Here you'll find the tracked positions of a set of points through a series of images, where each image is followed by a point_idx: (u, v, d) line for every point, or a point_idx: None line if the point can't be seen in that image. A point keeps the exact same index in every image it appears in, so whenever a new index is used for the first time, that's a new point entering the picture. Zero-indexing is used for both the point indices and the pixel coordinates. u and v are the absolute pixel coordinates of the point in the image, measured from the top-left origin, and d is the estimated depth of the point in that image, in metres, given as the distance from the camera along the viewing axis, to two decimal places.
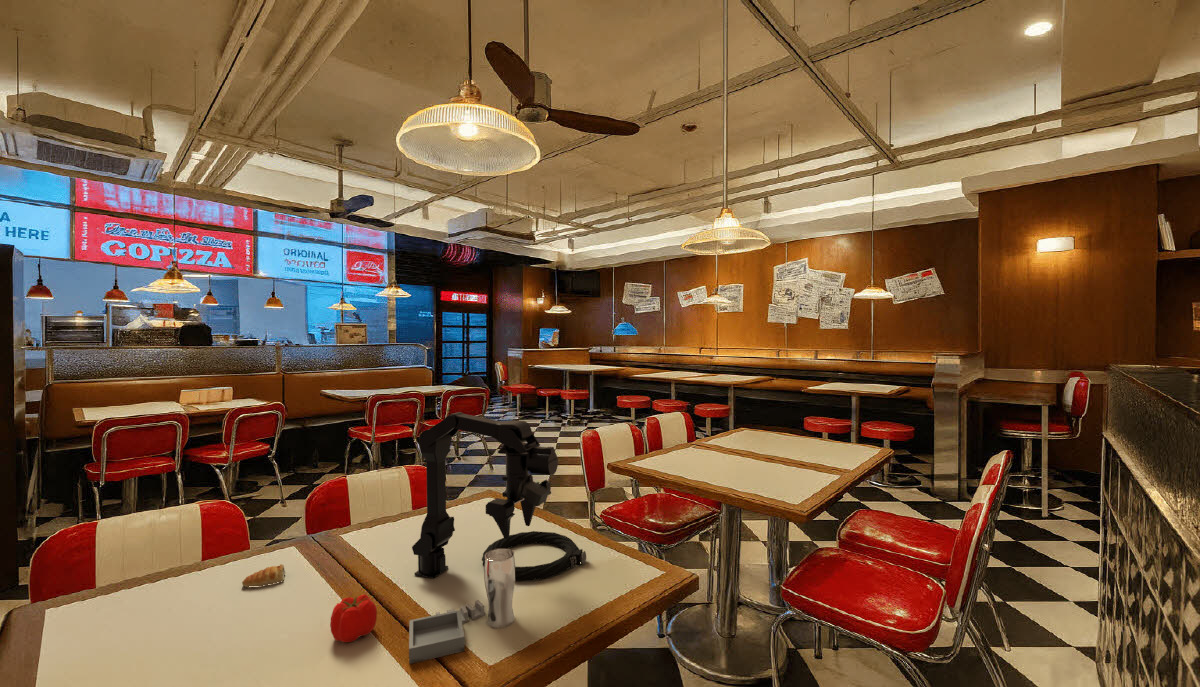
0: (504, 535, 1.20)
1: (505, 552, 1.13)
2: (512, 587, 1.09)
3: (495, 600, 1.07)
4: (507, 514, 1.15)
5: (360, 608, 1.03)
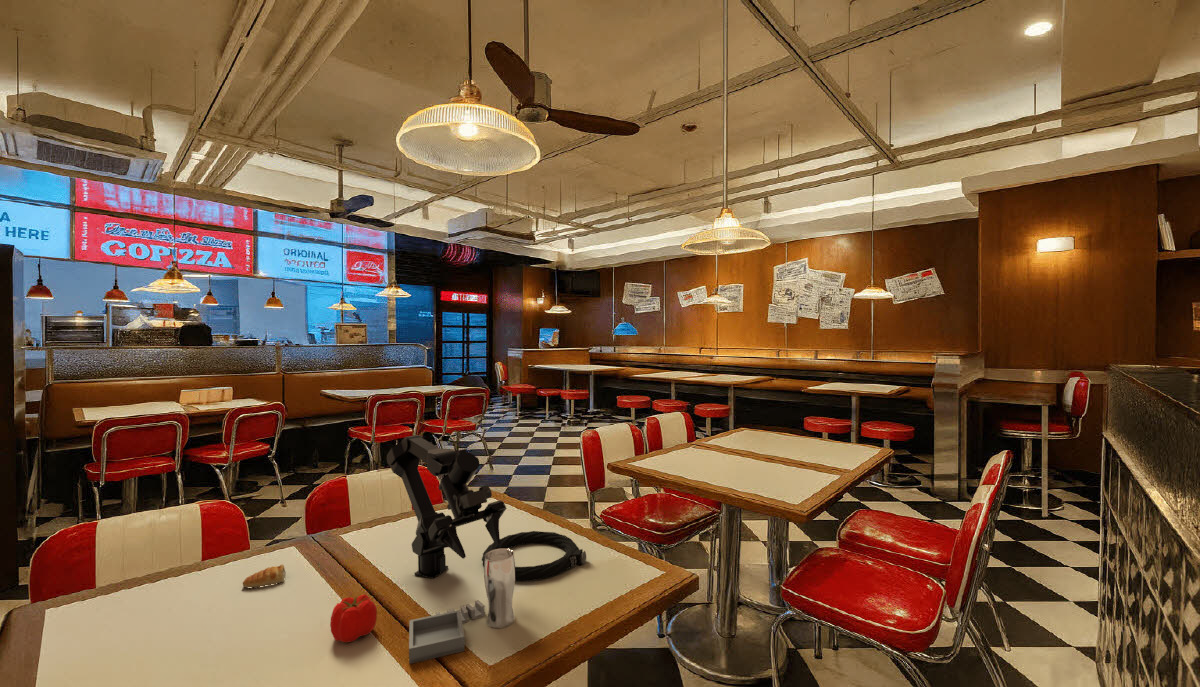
0: (460, 555, 1.12)
1: (505, 552, 1.13)
2: (512, 587, 1.09)
3: (495, 600, 1.07)
4: (441, 525, 1.11)
5: (360, 608, 1.03)
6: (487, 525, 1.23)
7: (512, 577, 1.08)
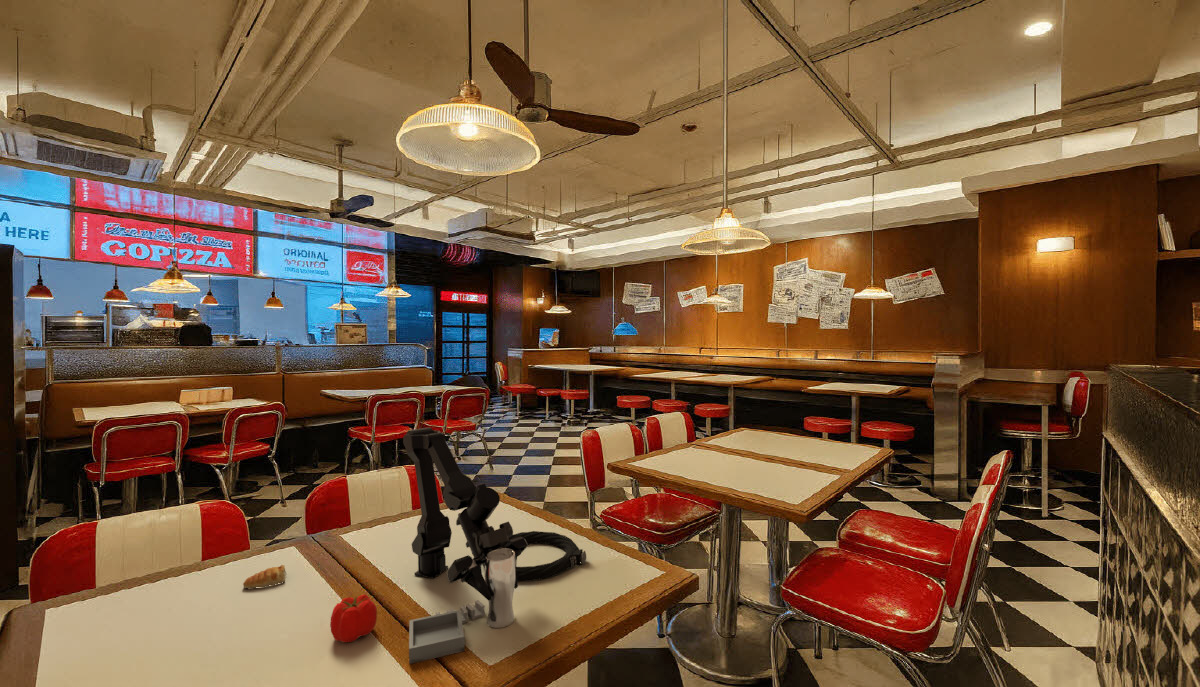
0: (486, 596, 1.07)
1: (506, 552, 1.13)
2: (512, 587, 1.09)
3: (495, 600, 1.07)
4: (461, 567, 1.05)
5: (360, 608, 1.03)
6: None
7: (512, 577, 1.08)
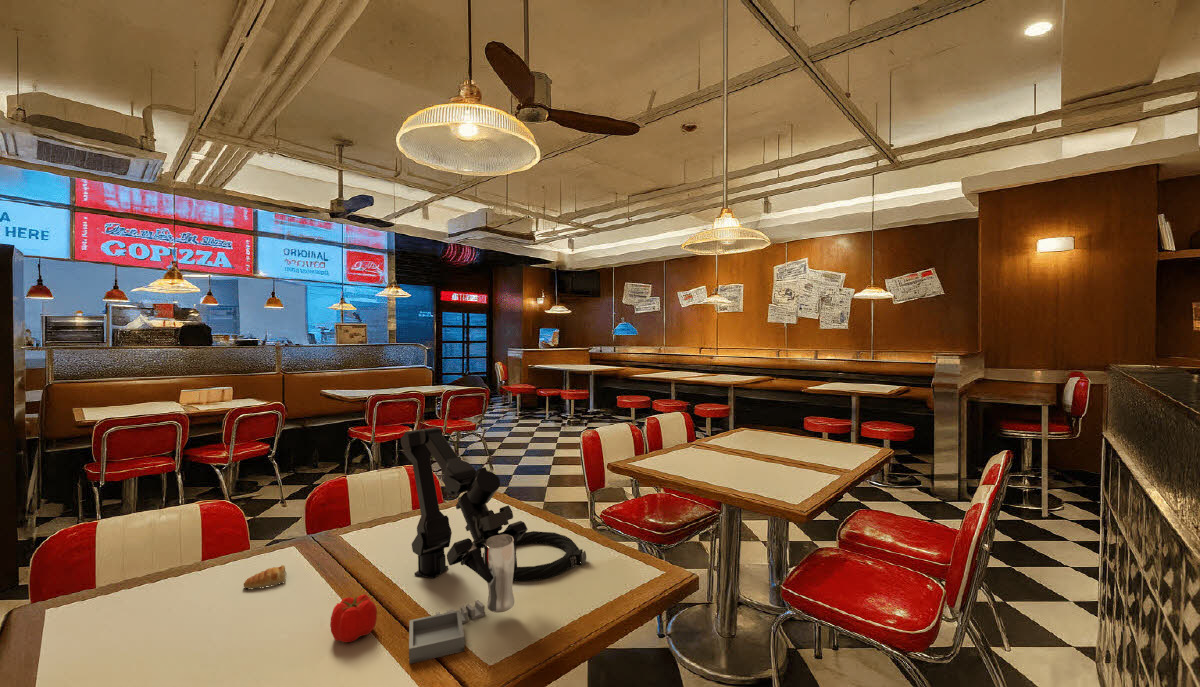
0: (486, 579, 1.07)
1: (505, 538, 1.12)
2: (512, 573, 1.09)
3: (495, 585, 1.07)
4: (461, 549, 1.05)
5: (360, 608, 1.03)
6: None
7: (512, 563, 1.08)
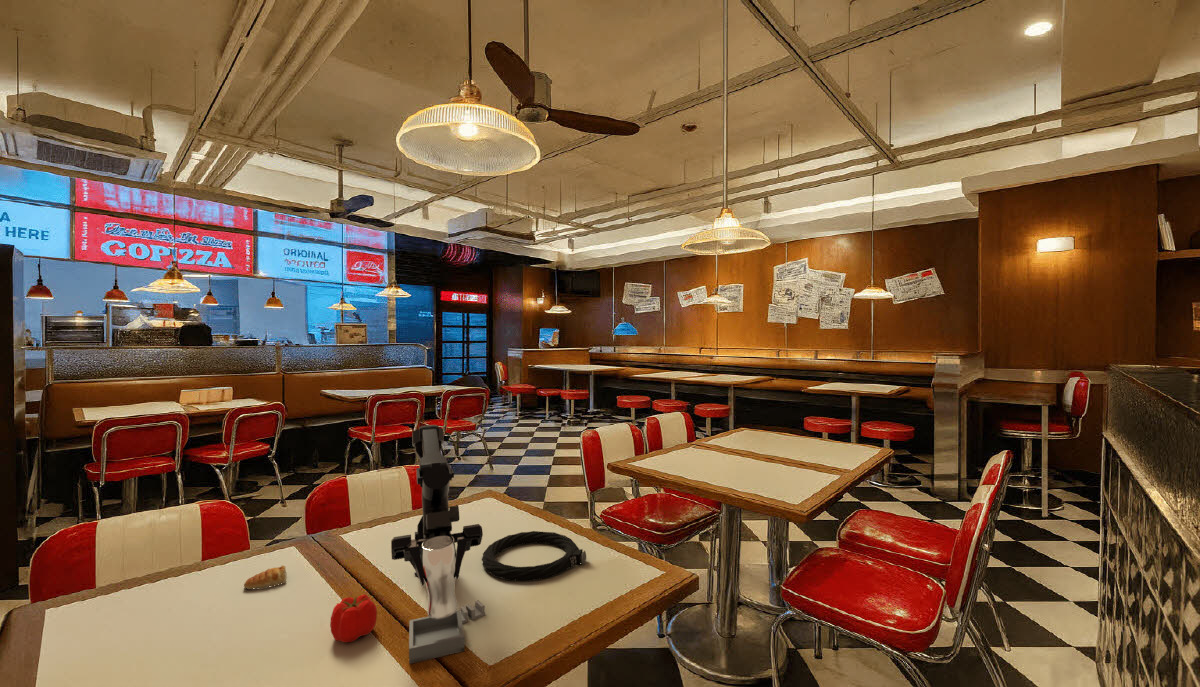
0: (420, 580, 1.01)
1: (450, 540, 1.05)
2: (447, 579, 1.00)
3: (429, 589, 1.00)
4: (396, 545, 1.01)
5: (360, 608, 1.03)
6: (456, 551, 1.08)
7: (446, 569, 1.00)
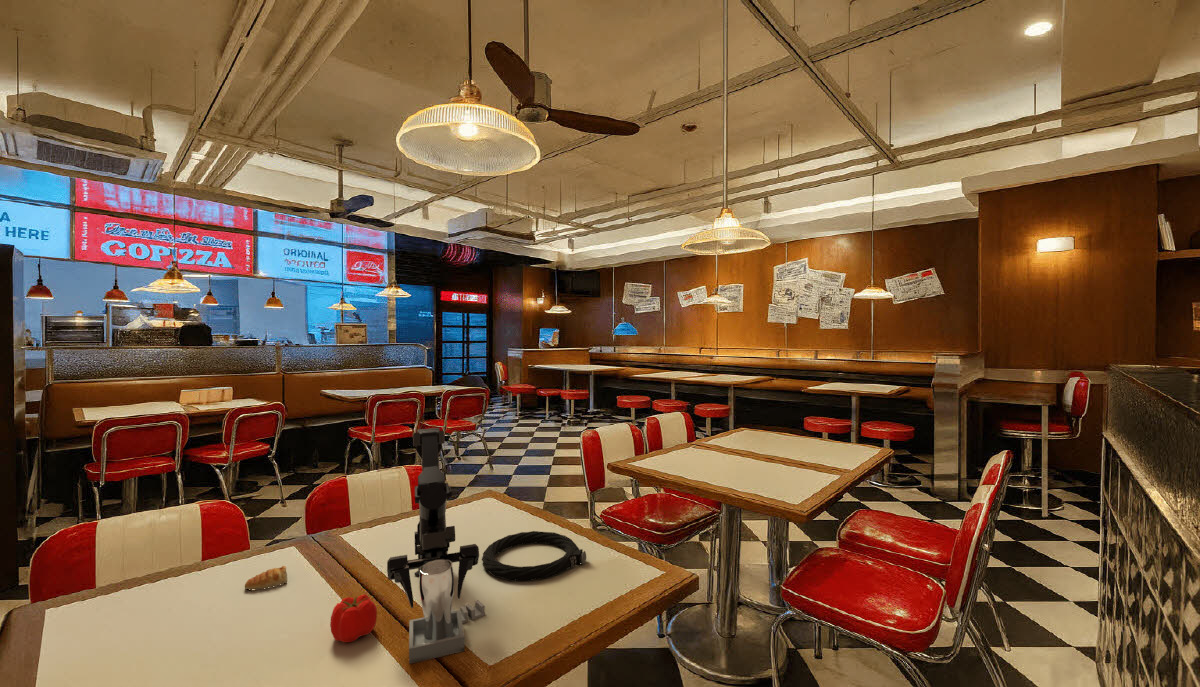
0: None
1: (449, 564, 1.05)
2: (444, 604, 1.00)
3: (425, 614, 1.00)
4: (392, 566, 1.01)
5: (360, 608, 1.03)
6: (458, 570, 1.08)
7: (443, 594, 1.00)
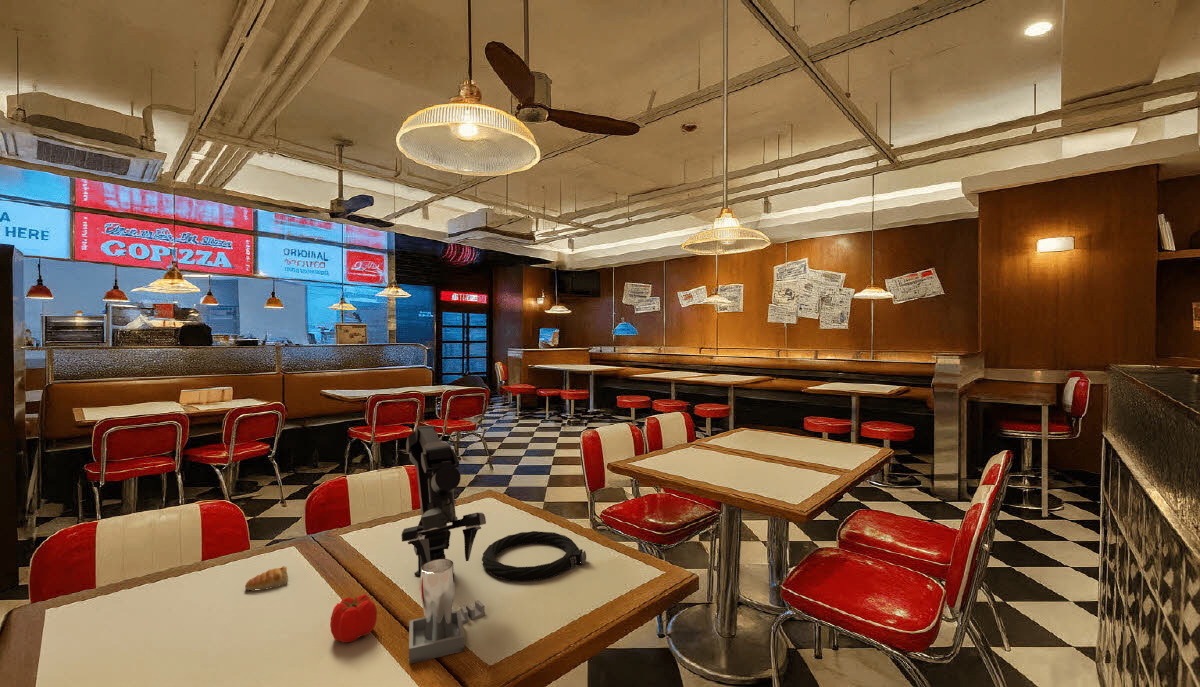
0: None
1: (450, 564, 1.05)
2: (445, 604, 1.01)
3: (426, 613, 1.00)
4: (405, 538, 1.13)
5: (360, 608, 1.03)
6: None
7: (444, 593, 1.00)
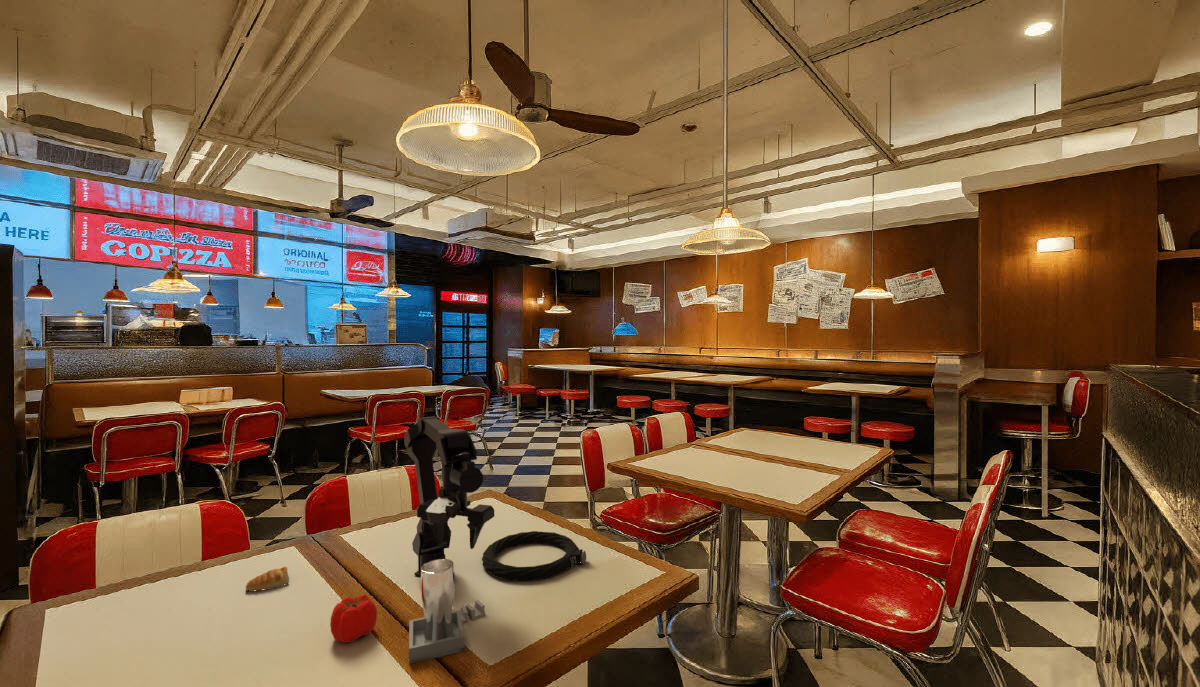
0: None
1: (450, 564, 1.05)
2: (445, 604, 1.01)
3: (426, 613, 1.00)
4: (418, 515, 1.19)
5: (360, 608, 1.03)
6: None
7: (444, 593, 1.00)
